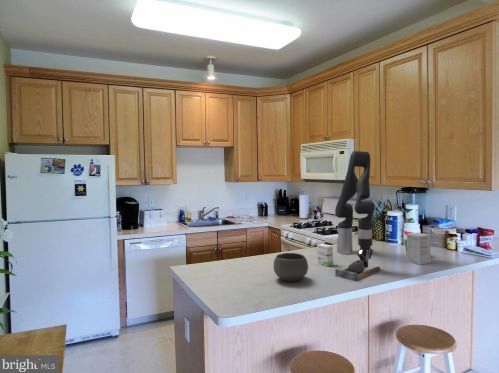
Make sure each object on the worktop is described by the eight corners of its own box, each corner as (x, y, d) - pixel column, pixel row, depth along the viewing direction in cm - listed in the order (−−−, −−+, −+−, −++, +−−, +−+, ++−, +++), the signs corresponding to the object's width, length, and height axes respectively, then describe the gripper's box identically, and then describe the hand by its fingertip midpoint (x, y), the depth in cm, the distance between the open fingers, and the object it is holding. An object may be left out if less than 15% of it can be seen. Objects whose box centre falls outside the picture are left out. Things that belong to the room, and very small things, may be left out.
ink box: (333, 265, 202) (333, 245, 201) (327, 266, 199) (327, 247, 198) (322, 262, 209) (322, 243, 208) (317, 263, 206) (316, 244, 205)
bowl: (273, 274, 187) (272, 252, 186) (305, 274, 186) (305, 251, 186) (274, 285, 169) (273, 260, 169) (310, 285, 169) (310, 260, 168)
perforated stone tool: (351, 278, 176) (351, 265, 176) (343, 276, 180) (342, 263, 180) (367, 272, 186) (367, 260, 185) (359, 270, 190) (359, 258, 190)
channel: (335, 275, 182) (335, 269, 182) (360, 266, 198) (360, 260, 198) (355, 281, 173) (355, 274, 172) (380, 270, 189) (380, 264, 189)
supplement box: (431, 263, 201) (431, 234, 200) (419, 265, 197) (419, 236, 196) (417, 259, 209) (417, 232, 208) (406, 261, 206) (406, 233, 205)
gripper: (365, 234, 196) (365, 263, 197) (352, 238, 188) (353, 268, 189) (377, 235, 191) (377, 266, 192) (365, 240, 182) (365, 271, 183)
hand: (365, 267), depth 190 cm, fingers closed
